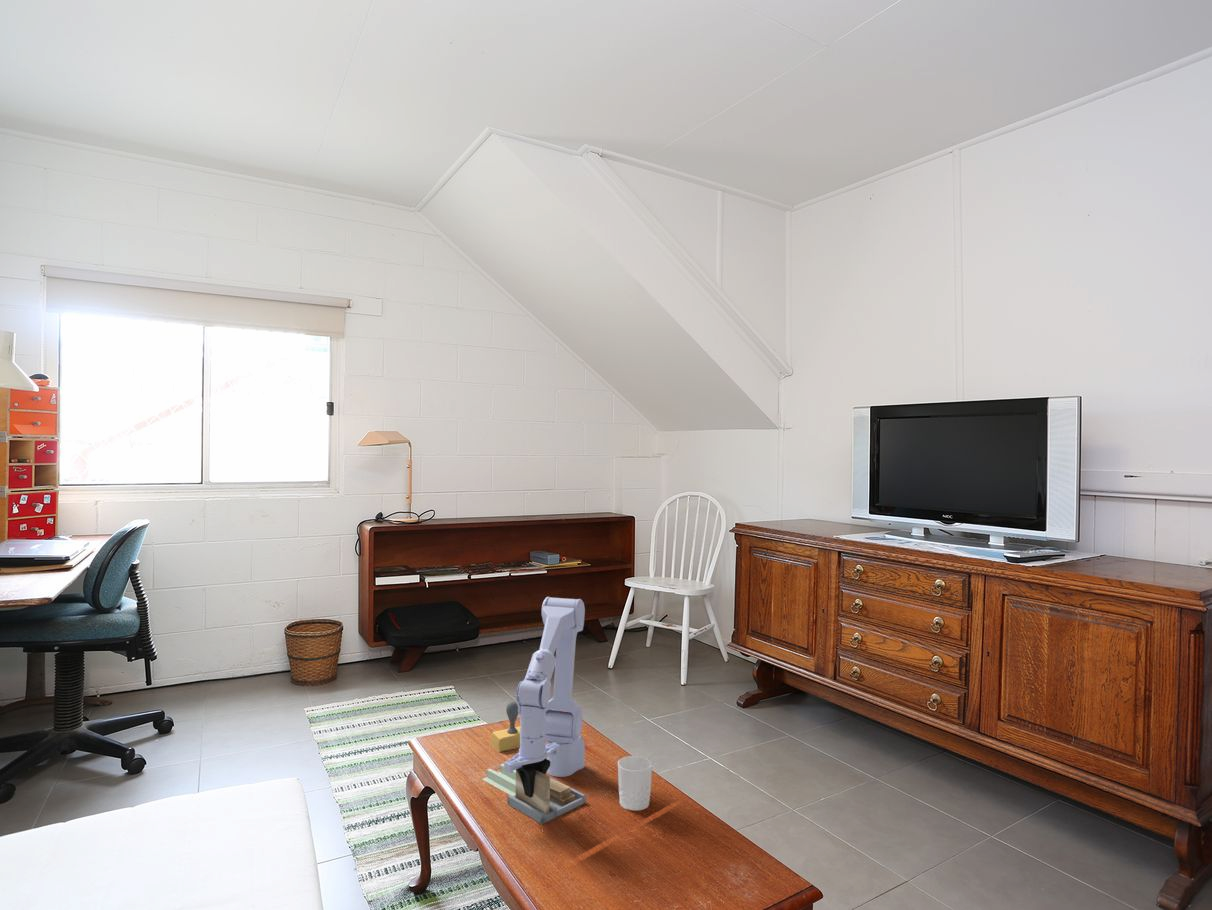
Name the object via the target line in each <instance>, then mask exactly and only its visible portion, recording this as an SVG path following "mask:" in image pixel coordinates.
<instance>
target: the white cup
mask: <svg viewBox="0 0 1212 910" xmlns="http://www.w3.org/2000/svg"><path fill="white" fill-rule="evenodd" d="M652 769H653V763H652V760H650V759H648V758H647V757H645V756H640V755H628V756H624V757H621V758H620V759H618V760H617V781H618V782H617V783H618V794H619V795H618V797H619V804H620V806H621V807H622V808H623V809H625V810H627V811H642V810H645V809H647V808H649V805H650V802H651V801H650V800H651V799H650V797H651V792H652V791H651V790H652V789H651V788H652V775H653V774H652V771H653V770H652Z"/></svg>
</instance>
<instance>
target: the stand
mask: <svg viewBox="0 0 1212 910" xmlns="http://www.w3.org/2000/svg"><path fill="white" fill-rule="evenodd" d="M481 780H483V781H484V782H486V783H488V784H490V785H491V786H493V787H495V788H497V789H498V790H501V791H502V792H503V793H505V794H508V796H509V795H512V796H515V795H516V770H513V773H508V772H506V771H504V763H501V764H499V771H495V770H493V769H492V768H488V769H486V777H483V778H482V779H481Z"/></svg>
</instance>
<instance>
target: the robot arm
mask: <svg viewBox="0 0 1212 910" xmlns="http://www.w3.org/2000/svg"><path fill="white" fill-rule="evenodd" d="M585 608H586V607H585V603H584V601H583V600H582V598H578V599H577V598H563V597H562V598H561V597H550V596H546V597H545V598H544V600H543V602H542V605H541V618H542V623H543V626H544V627H543V631H542V637H541V641H540V645H539V649H538V650H536V651H534V652H533V653H532V656H531V660H530V662H529V664H528V668H527V671H526V674H525V676H524V679H523V680H522V681H519V683H518V685H517V688H516V691H515V692H516V693H515V700H516V701H515V702H516V703H517V705H518V715H519V726H520V748H518V753H516V754H515V755H513V757H511V758H509V759H507V760H505V761H504V763H503V764H504V771H506V772H508V773H513V770H517V772H518V774H519V776H520V778H521V781H522V784H523V788H524V793H525V795H526V796H528V797H530V798H531V797H533V793H534V780H535V776H536V772H537V771H539V772H541V773H543V774H545V775H547V774H548V775H550V776H553V777H555V778H565V777H569V776H571V775H573V774H574V773H576V772H578V771H580V770H582V769H584V768H585V765H586V764H585V762H586V760H585V753H586V752H585V751H586V748H585V741H584V738H583V736H581V734H582V731H583V719H584V718H583V709H582V706H581V705H580V704H579V703H578V702H577V701H576V700H575V699H574V698H573V687H574V686H573V685H574V670H575V658H576V657H575V656H576V644H577V643H576V641H577V635H578V633H579V632H583V630H584V626H585V614H586V609H585ZM555 652H556V653H555ZM555 654H556V655H555ZM553 674H554V677H553ZM552 677H553V678H554V680H553V694H552V695H553V696H552V698H550V696H551V688H552V682H551V679H552Z"/></svg>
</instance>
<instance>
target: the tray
mask: <svg viewBox="0 0 1212 910" xmlns="http://www.w3.org/2000/svg"><path fill="white" fill-rule="evenodd" d="M549 777H550V776H549ZM550 779H552V780H554V781H557V782H559V783H562V782H560V781H559V780H556V779H555V778H554V777H550ZM562 784H564V783H562ZM564 785H566V784H564ZM569 787H570V793H572V794H574V795H575V801H573V802H571V803H569V804H567V805H565V806H563V807H562V806H560V805H558V804H556V803H554V802H552V801H551V800H550V813H548V814H546V815H545V814H544V813H542V812H540V811H538V810H536V809H535V808H533V807H531V806H529V805H528V804H526V803H524V802H522V801H520V800H519V799H517V798H516V795H515V796H512V795H509V794H508V795H507V805H509V807H511V808H513V809H515V810H517V811H519V812H520V813H522V814H523V815H526V816H527V817H529V818H531V819H532V820H534V821H536V822H537V823H539V824H541V825H543V824H546V823H548V822H550V821H551V820H553V819H556V818H557V817H560V816H561V815H563V814H566V813H568V812H569V811H571V810H574V809H576V808H578V807H580V806H582V805H584V804H586V794H585V793H582V792H581V791H578V790H576V789H575V788H572V787H571V786H569Z"/></svg>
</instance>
